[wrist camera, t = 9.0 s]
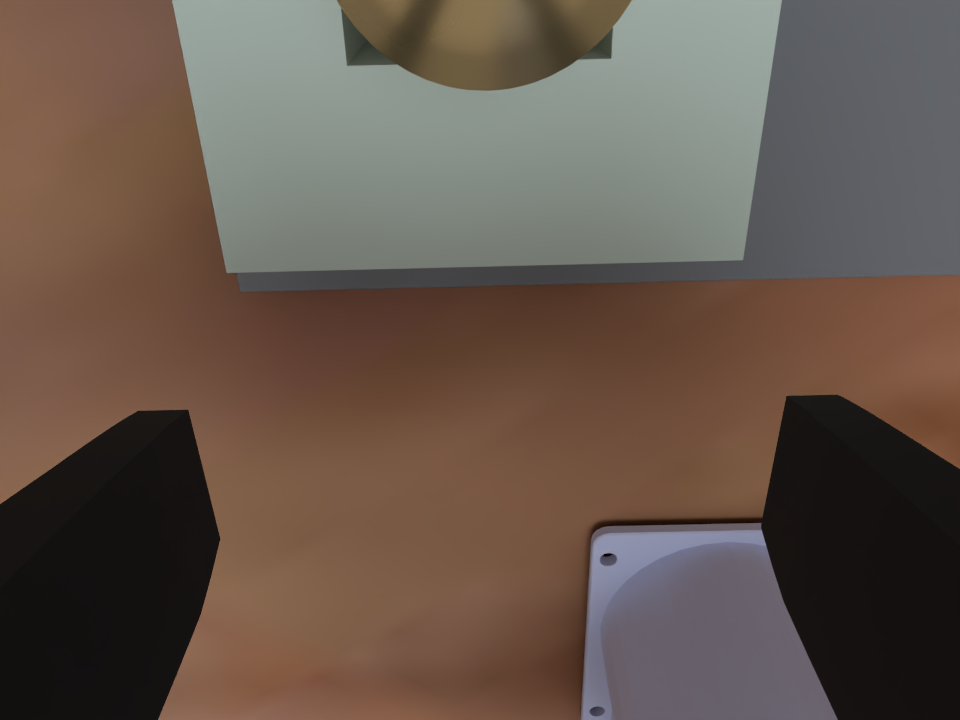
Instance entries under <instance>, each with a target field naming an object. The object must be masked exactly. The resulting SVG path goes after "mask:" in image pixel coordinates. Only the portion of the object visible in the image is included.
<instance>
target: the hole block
mask: <svg viewBox="0 0 960 720" xmlns="http://www.w3.org/2000/svg"><path fill="white" fill-rule="evenodd" d="M172 1H173V6H174V11H175V16H176V21H177V26H178V32H179V37H180V42H181V47H182V52H183V57H184V62H185V67H186V72H187V77H188V82H189V87H190V92H191V97H192V102H193V107H194V112H195V117H196V122H197V127H198V132H199V137H200V142H201V147H202V152H203V157H204V162H205V167H206V172H207V177H208V182H209V187H210V192H211V197H212V202H213V207H214V212H215V217H216V222H217V227H218V232H219V237H220V242H221V247H222V252H223V257H224V262H225V267H226V273H246V272H286V271H327V270H367V269H408V268H448V267H489V266H529V265H570V264H610V263H651V262H692V261H732V260H743V257H744V250H745V244H746V237H747V230H748V223H749V217H750V210H751V203H752V197H753V190H754V183H755V177H756V170H757V163H758V157H759V150H760V143H761V137H762V130H763V123H764V116H765V110H766V103H767V96H768V90H769V83H770V76H771V70H772V63H773V56H774V50H775V43H776V36H777V30H778V23H779V16H780V9H781V3H782V0H632V1H631V2H630V4H629V5H628V7H627V9H626V10H625V12H624V13H623V15H622V16H621V18H620V19H619V20H618V22H617V23H616V24H615V25H614V26H613V27H612V29H611V30H610V31H609V32H608V33H607V35H606V36H605V37H604V38H603V39H602V40H601V41H600V42H599V43H597V44H596V45H595V46H594V47H593V48H592V49H591V50H590V51H589V52H588V53H587V54H585V55H584V56H582V57H581V58H580V59H578V60H577V61H575V62H574V63H573V64H571V65H570V66H568V67H566V68H565V69H563V70H561V71H559V72H557V73H555V74H553V75H552V76H550V77H547V78H544V79H542V80H539V81H537V82H534V83H531V84H528V85H524V86H519V87H515V88H511V89H503V90H493V91H478V90H464V89H458V88H453V87H447V86H444V85H441V84H438V83H434V82H431V81H428V80H426V79H423V78H421V77H419V76H417V75H415V74H413V73H411V72H409V71H407V70H405V69H404V68H402V67H400V66H399V65H397V64H396V63H394V62H393V61H391V60H389V59H388V58H387V57H386V56H385V55H383V54H382V53H381V52H380V51H379V50H377V49H376V48H375V47H374V46H372V45H371V44H370V43H369V41H368V40H367V39H366V38H365V37H364V36H363V35H362V34H361V33H360V32H359V31H358V30H357V29H356V28H355V26H354V25H353V23H352V22H351V21H350V19H349V18H348V17H347V15H346V14H345V13H344V11H343V10H342V9H341V7H340V5H339V3H338V1H337V0H172Z"/></svg>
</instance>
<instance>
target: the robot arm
mask: <svg viewBox="0 0 960 720" xmlns="http://www.w3.org/2000/svg"><path fill="white" fill-rule="evenodd" d="M219 541H220V536H219V532H218V528H217V524H216V520H215V516H214V512H213V508H212V504H211V500H210V496H209V492H208V488H207V484H206V480H205V476H204V472H203V468H202V464H201V459H200V455H199V451H198V447H197V443H196V439H195V435H194V431H193V427H192V423H191V419H190V415H189V411H188V410H158V411H137V412H136V413H134V414H132V415H130V416H129V417H127V418H125V419H124V420H122V421H120V422H119V423H117V424H116V425H114V426H113V427H111V428H110V429H108V430H107V431H105V432H104V433H102V434H101V435H99V436H98V437H96V438H95V439H93V440H92V441H90V442H89V443H88V444H86V445H85V446H83V447H82V448H80V449H79V450H77V451H76V452H75V453H73V454H72V455H70V456H69V457H67V458H66V459H65V460H63V461H62V462H60V463H59V464H58V465H56V466H55V467H53V468H52V469H50V470H49V471H47V472H46V473H45V474H43V475H42V476H40V477H39V478H37V479H36V480H35V481H33V482H32V483H30V484H29V485H27V486H26V487H24V488H23V489H22V490H20V491H19V492H17V493H16V494H14V495H13V496H11V497H10V498H9V499H7V500H6V501H4V502H3V503H1V504H0V720H158V718H159V716H160V713H161V711H162V708H163V706H164V704H165V701H166V699H167V696H168V694H169V692H170V689H171V687H172V684H173V682H174V679H175V677H176V675H177V672H178V670H179V667H180V665H181V662H182V660H183V657H184V655H185V652H186V650H187V647H188V645H189V642H190V640H191V637H192V635H193V632H194V630H195V627H196V625H197V622H198V620H199V617H200V614H201V611H202V608H203V604H204V600H205V597H206V593H207V590H208V586H209V582H210V579H211V574H212V570H213V566H214V562H215V558H216V554H217V550H218V546H219ZM607 553H612V554H613V555H611V556H608V557H604V556H602V555H604V554H607ZM580 720H960V469H959V468H957V467H955V466H954V465H952V464H951V463H949V462H947V461H946V460H944V459H943V458H941V457H940V456H938V455H936V454H935V453H933V452H932V451H930V450H928V449H927V448H925V447H924V446H922V445H921V444H919V443H917V442H916V441H914V440H913V439H911V438H910V437H908V436H906V435H905V434H903V433H902V432H900V431H899V430H897V429H895V428H894V427H892V426H891V425H889V424H887V423H886V422H884V421H883V420H881V419H879V418H878V417H876V416H875V415H873V414H871V413H870V412H868V411H866V410H865V409H863V408H861V407H859V406H858V405H856V404H854V403H852V402H851V401H849V400H847V399H845V398H843V397H841V396H839V395H811V396H786V402H785V407H784V412H783V417H782V422H781V427H780V432H779V437H778V442H777V447H776V452H775V457H774V463H773V468H772V473H771V478H770V483H769V488H768V493H767V498H766V503H765V508H764V513H763V518H762V523H737V524H690V525H643V526H607V527H602V528H600V529H598V530H596V531H595V532H594V533H593V535H592V538H591V548H590V565H589V582H588V599H587V617H586V634H585V651H584V668H583V685H582V702H581V719H580Z"/></svg>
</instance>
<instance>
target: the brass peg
mask: <svg viewBox="0 0 960 720" xmlns="http://www.w3.org/2000/svg"><path fill="white" fill-rule="evenodd" d="M337 1H338V3H339V5H340V7H341V9H342V10H343V11H344V13H345V14H346V15H347V17H348V18H349V19H350V21H351V22H352V23H353V25H354V26H355V28H356V29H357V30H358V31H359V32H360V33H361V34H362V35H363V36H364V37H365V38H366V39H367V40H368V41H369V43H370V44H371V45H372V46H374V47H375V48H376V49H377V50H379V51H380V52H381V53H382V54H383V55H385V56H386V57H387V58H388V59H389V60H391V61H393V62H394V63H396V64H397V65H399V66H400V67H402V68H404V69H405V70H407V71H409V72H411V73H413V74H415V75H417V76H419V77H421V78H423V79H426V80H428V81H431V82H434V83H438V84H441V85H444V86H447V87H453V88H458V89H464V90H478V91H493V90H503V89H511V88H515V87H519V86H524V85H528V84H531V83H534V82H537V81H539V80H542V79H544V78H547V77H550V76H552V75H553V74H555V73H557V72H559V71H561V70H563V69H565V68H566V67H568V66H570V65H571V64H573V63H574V62H575V61H577V60H578V59H580V58H581V57H582V56H584V55H585V54H587V53H588V52H589V51H590V50H591V49H592V48H593V47H594V46H595V45H596V44H597V43H599V42H600V41H601V40H602V39H603V38H604V37H605V36H606V35H607V33H608V32H609V31H610V30H611V29H612V27H613V26H614V25H615V24H616V23H617V22H618V20H619V19H620V18H621V16H622V15H623V13H624V12H625V10H626V9H627V7H628V5H629V4H630V2H631V1H632V0H337Z"/></svg>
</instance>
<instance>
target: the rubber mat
mask: <svg viewBox="0 0 960 720" xmlns="http://www.w3.org/2000/svg"><path fill="white" fill-rule="evenodd" d="M920 275H960V0H782V3H781V9H780V16H779V23H778V30H777V36H776V43H775V50H774V56H773V63H772V70H771V76H770V83H769V90H768V96H767V103H766V110H765V116H764V123H763V130H762V137H761V143H760V150H759V157H758V163H757V170H756V177H755V183H754V190H753V197H752V203H751V210H750V217H749V223H748V230H747V237H746V244H745V250H744V257H743V260H732V261H692V262H651V263H610V264H570V265H529V266H489V267H448V268H408V269H367V270H327V271H286V272H246V273H237V278H238V284H239V289H240V292H265V291H306V290H347V289H388V288H429V287H470V286H511V285H551V284H592V283H633V282H674V281H715V280H756V279H797V278H838V277H879V276H920Z"/></svg>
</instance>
